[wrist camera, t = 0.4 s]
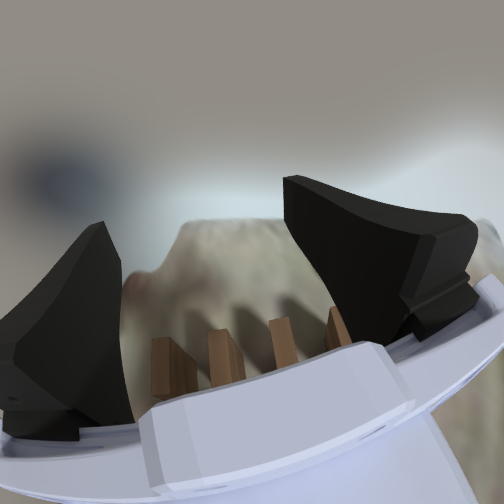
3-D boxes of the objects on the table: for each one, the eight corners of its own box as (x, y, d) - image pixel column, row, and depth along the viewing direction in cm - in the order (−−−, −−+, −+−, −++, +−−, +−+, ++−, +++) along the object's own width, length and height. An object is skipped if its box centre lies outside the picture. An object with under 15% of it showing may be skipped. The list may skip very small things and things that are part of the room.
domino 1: (196, 362, 28) (168, 337, 22) (199, 407, 24) (169, 394, 19) (182, 363, 28) (152, 339, 22) (184, 408, 24) (151, 395, 19)
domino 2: (242, 355, 27) (226, 328, 22) (249, 402, 24) (232, 388, 19) (227, 357, 27) (207, 331, 22) (232, 404, 24) (211, 390, 19)
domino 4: (339, 335, 27) (348, 302, 22) (352, 380, 24) (366, 359, 18) (324, 338, 27) (330, 307, 22) (336, 384, 24) (346, 365, 18)
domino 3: (291, 346, 27) (288, 316, 22) (301, 392, 24) (301, 376, 19) (276, 349, 27) (268, 320, 22) (284, 396, 24) (279, 380, 19)
